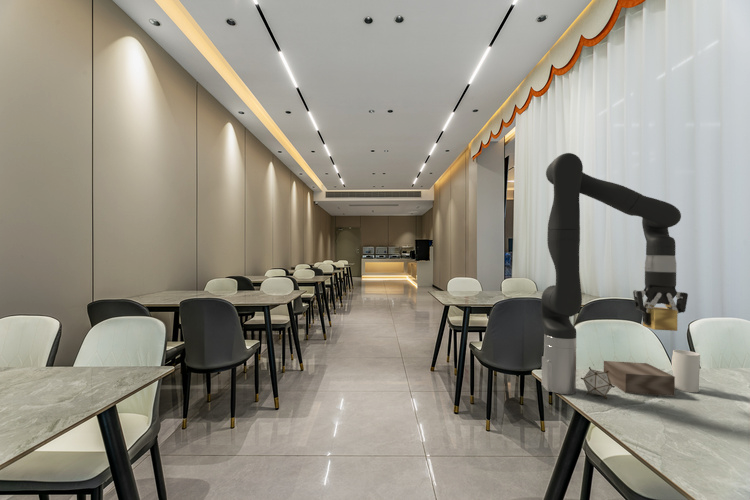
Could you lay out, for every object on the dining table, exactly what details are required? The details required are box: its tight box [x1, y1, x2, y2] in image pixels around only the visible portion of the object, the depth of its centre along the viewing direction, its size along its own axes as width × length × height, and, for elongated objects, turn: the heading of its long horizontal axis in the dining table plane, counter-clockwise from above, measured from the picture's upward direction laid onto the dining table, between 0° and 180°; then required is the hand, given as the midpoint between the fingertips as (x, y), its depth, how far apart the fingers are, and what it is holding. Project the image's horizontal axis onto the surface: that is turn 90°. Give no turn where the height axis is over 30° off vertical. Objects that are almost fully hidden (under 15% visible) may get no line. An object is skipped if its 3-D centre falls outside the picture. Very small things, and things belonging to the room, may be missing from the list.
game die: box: [580, 366, 616, 400], centre depth 109 cm, size 9×8×10 cm
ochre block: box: [642, 306, 679, 332], centre depth 108 cm, size 6×6×6 cm
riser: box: [603, 360, 676, 397], centre depth 118 cm, size 14×14×6 cm
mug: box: [671, 349, 701, 394], centre depth 117 cm, size 10×7×12 cm, turn 171°
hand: (659, 325), depth 108 cm, fingers closed on ochre block, 6 cm apart
